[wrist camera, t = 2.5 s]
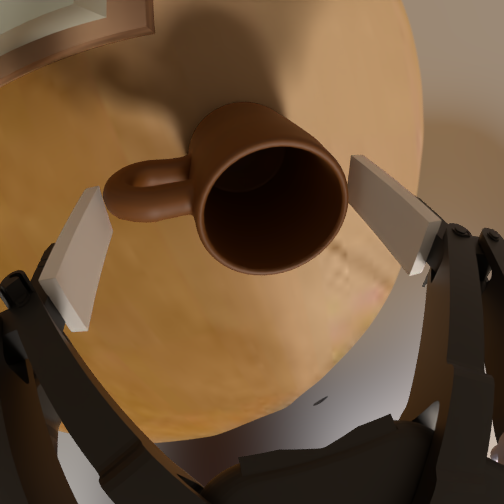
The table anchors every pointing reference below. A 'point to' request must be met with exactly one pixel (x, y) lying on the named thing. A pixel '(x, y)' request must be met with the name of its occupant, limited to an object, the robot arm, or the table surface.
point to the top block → (43, 19)
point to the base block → (80, 38)
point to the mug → (242, 190)
